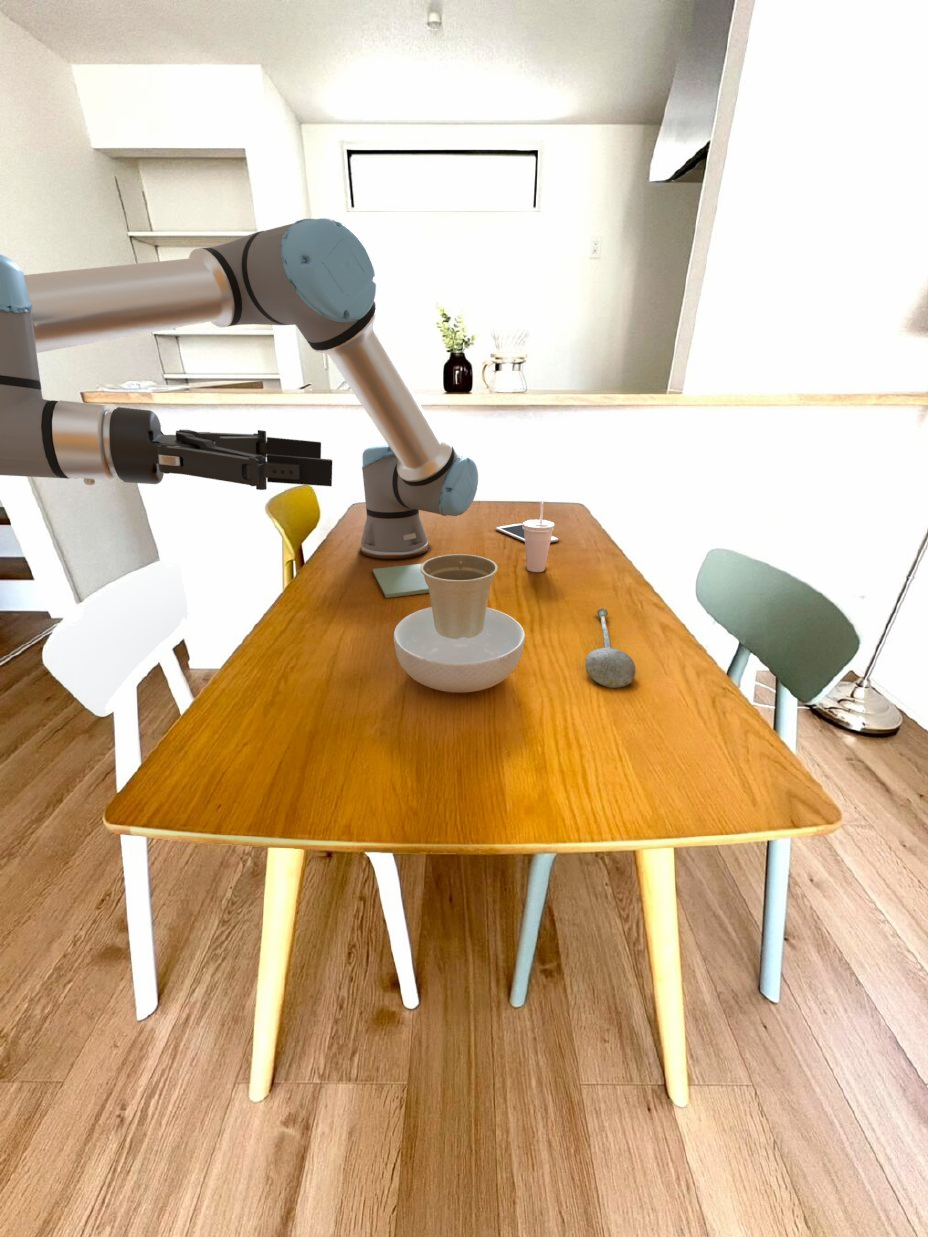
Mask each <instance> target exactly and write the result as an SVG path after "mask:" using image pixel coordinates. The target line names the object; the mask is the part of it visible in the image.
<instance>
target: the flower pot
mask: <svg viewBox="0 0 928 1237" xmlns="http://www.w3.org/2000/svg"><path fill="white" fill-rule="evenodd" d="M421 564H422V565H421V567H420V570H421V573H422V574H423V575H424V578H425V582H426V584H427V585H428V589H429V593H428V594H429V600H430V605H431V606H430V607H432V612H433V617H434V624H435V629H436V631H437V633H438V634H440V635H441V636H444V637H447V638H450V639H459V638H462V637H466V638H472V637H475V636H477V635H479V634H480V633H481V632H482V631H483V627H484V620H485V613H486V608H488V602H489V596H490V589H491V586H492V584H493V582H494V577H495V576H496V575H497V573H498V571H499V570H498V569H499V567H498V566H499V565H498V564H497V563H496V562H495V561H493V560H492V559H489V558H487V557H484V556H481V555H474V554H465V553H453V554H452V553H451V554H443V555H437V556H434V557H431V558H429V559H426V560H425V561H423V562H422V563H421Z"/></svg>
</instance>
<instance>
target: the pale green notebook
mask: <svg viewBox="0 0 928 1237" xmlns="http://www.w3.org/2000/svg"><path fill="white" fill-rule="evenodd" d="M422 564H423V563H417V564H415V563H414V564H407V565H396V566H389V567H378V568H372V574H373V575H374V577H375V579H376V581H377V583H378V584H379V587H380V589H381V591H382V593H383V595H384V597H385V598H386V599H390V598H397V597H406V596H415V595H421V594H429V589H428V585H427V584H426V582H425V578H424V575H423V574H422V573H421V570H420V567H421V565H422Z"/></svg>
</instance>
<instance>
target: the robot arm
mask: <svg viewBox="0 0 928 1237" xmlns="http://www.w3.org/2000/svg"><path fill="white" fill-rule="evenodd" d="M370 256H371V255H370V254H369V252H368V251H367V248H366V246H365V245H364V244H363V242H362V241H361V239H360V238H359V237H358V236H357V235H356V234H355V233H354V232H353V231H352V230H351V229H350V228H349V227H347V226H346V225H345V224H343V223H341V222H339V221H336V220H335V219H331V218H325V217H324V218H322V217H321V218H303V219H299V220H296V221H295V222H293V223H288V224H285V225H282V226H278V227H274V228H273V227H272V228H270V229H266V230H260V231H256V232H254V233H252V234H249V235H246V236H243V237H240V238H237V239H235V240H231V241H228V242H225V243H222V244H218V245H214V246H210V247H208V246H207V247H197V248H195V249H193V250H191V252H190V253H189V256H188V257H187V258H181V259H172V260H171V259H169V260H161V261H151V262H150V261H149V262H141V263H140V262H139V263H131V264H120V265H110V266H100V267H91V268H81V269H70V270H61V271H60V270H59V271H52V272H51V271H50V272H41V273H40V272H39V273H31V274H24V271H23V270H22V268H21V267H20V266H19V265H18V264H17V263H16V262H15V261H14V260H12V259H11V258H9V257H7V256H6V255H3V254H1V253H0V476H6V477H7V476H9V477H30V478H49V479H51V478H52V479H66V480H67V479H68V480H69V479H75V480H78V479H83V483H84V484H85V485H87V486H94V485H95V484H96V481H103V482H104V481H105V482H114V481H115V480H116V479H117V478H119V480H121V481H122V482H123V483H127V484H128V483H129V484H144V485H145V484H146V485H158V484H161V482H162V481H163V479H164V475H165V474H176V475H185V476H192V477H197V478H203V479H209V480H216V481H221V482H227V483H233V484H240V485H247V486H250V487H255V489H256V490H258V491H265V490H267V489H268V488H267V483H274V484H289V485H290V484H291V485H303V486H320V487H333V459H329V458H322V442H321V441H314V440H304V439H293V438H292V439H291V438H281V437H273V436H272V437H271V436H267V431H266V430H263V429H262V430H261V429H257V433H256V432H255V433H231V432H211V431H195V430H191V429H178V430H175V434H164V433H163V431H162V425H161V420H160V419H159V416H158V415H157V414H156V413H155V411H153V410H150V409H140V408H130V407H120V406H118V407H116V408H114V409H113V410H112V409H111V408H109V406H107V405H106V404H98V403H88V402H81V401H70V400H53V399H51V400H50V399H45V398H44V397H43V393H42V382H41V377H40V368H39V362H38V361H39V360H38V354H39V353H44V352H50V351H55V350H60V349H61V350H62V349H67V348H72V347H77V346H82V345H89V344H94V343H99V342H105V341H111V340H116V339H122V338H128V337H134V336H138V335H139V336H140V335H145V334H150V333H156V332H160V331H165V330H171V329H172V330H173V329H179V328H182V327H189V326H194V325H199V324H205V323H211V324H213V325H214V326H216V327H218V328H227V327H228V328H229V327H232V326H243V325H246V326H248V325H262V326H263V325H264V326H296V328H297V329H298V330H299V332H300V334H301V335H302V336H303V338H304V339H305V340H306V342H307V344H309V346H310V348H311V349H312V350H313V351H314V352H317V353H320V354H326V355H328V356H329V358H330V359H331V360H332V362H333V364H334V365H335V367H336V368H337V370H338V371H339V373H340V375H341V377H343V379H344V380H345V382H346V383H347V385H348V386H349V387H350V390H351V391H352V392H353V395H355V397H356V399H357V400H358V402H359V403H360V404H361V406H362V408H363V409H364V410H365V412H366V414H367V415H368V416H369V418H370V420H371V421H372V422H373V424H374V425H375V427H376V429H377V430H378V432H379V433H380V434H381V436H382V437H383V439H384V441H385V443H386V445H378V446H371V447H367V448H366V449H364V451H362V466H361V470H362V480H363V487H364V488H363V489H364V490H363V491H364V502H365V510H366V511H365V512H366V518H365V519H366V520H365V524H364V526H363V532H362V536H361V540H360V548H361V549H360V550H361V553H362V554H363V555H364V556H368V557H370V558H374V559H378V560H379V559H380V560H404V559H410V558H415V557H417V556H421V555H423V554H424V553H426V552H427V551H428V550H429V540H428V537H427V534H426V531H425V528H424V525H423V523H422V520H421V517H420V511H421V512H427V513H433V514H437V515H440V516H443V517H447V516H449V517H458V516H461V515H462V514H464V513H466V512H467V511H468V510H469V508H470V507H471V505H472V504H473V502H474V500H475V498H476V494H477V490H478V484H479V471H478V466H477V464H476V463H475V461H474V460H473V459H472V458H470V457H467V456H466V455H462V456H460V455H458V454H457V452H456V450H455V449H454V447H453V445H452V443H451V442H450V440H449V439H448V438H447V437H446V436H444V435H441V434H437V432H436V431H435V429H434V427H433V425H432V424H431V422H430V421H429V418H428V416H427V415H426V413H425V411H424V410H423V407H422V405H421V404H420V402H419V400H418V399H417V397H416V395H415V393H414V391H413V389H412V388H411V386H410V384H409V382H408V381H407V378H406V377H405V375H404V373H403V371H402V370H401V368H400V366H399V364H398V363H397V360H396V359H395V357H394V355H393V353H392V352H391V349H389V348H390V347H389V346H388V344H387V343H386V341H385V339H384V337H383V335H382V334H381V332H380V330H379V328H378V327H377V324H376V323H375V320H376V316H377V312H378V306H377V304H376V302H375V299H376V294H377V293H376V292H377V283H376V282H374V277H375V276H376V273H375V268H374V264H373V261H372V259H371V257H370Z"/></svg>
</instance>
